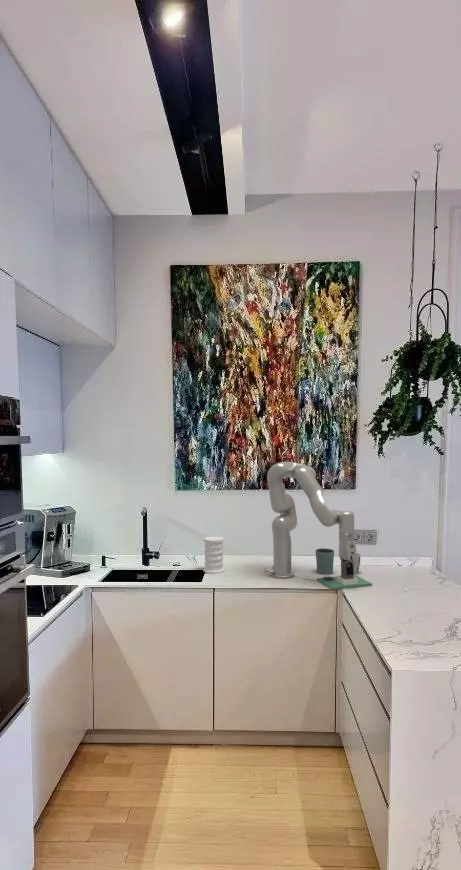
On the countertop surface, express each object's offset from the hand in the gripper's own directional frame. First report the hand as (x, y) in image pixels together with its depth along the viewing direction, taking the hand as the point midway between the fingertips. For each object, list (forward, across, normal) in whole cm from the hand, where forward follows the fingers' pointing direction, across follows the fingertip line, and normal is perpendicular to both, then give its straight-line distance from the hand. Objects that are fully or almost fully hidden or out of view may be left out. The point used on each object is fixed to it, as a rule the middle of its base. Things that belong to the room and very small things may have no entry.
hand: (347, 572), depth 236 cm
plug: (+2, 0, 0) cm, 2 cm away
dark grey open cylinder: (+6, +23, 0) cm, 24 cm away
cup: (+6, +18, -14) cm, 24 cm away
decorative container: (+5, +43, +57) cm, 72 cm away
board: (+6, +3, 0) cm, 7 cm away
